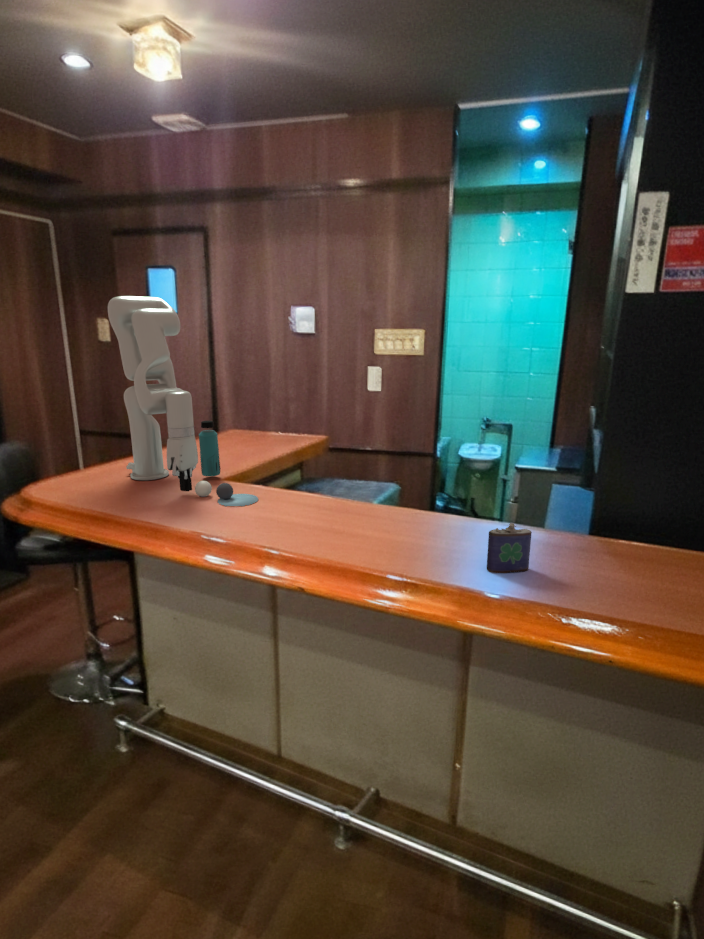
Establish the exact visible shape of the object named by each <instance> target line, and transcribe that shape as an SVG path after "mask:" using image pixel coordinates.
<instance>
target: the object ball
mask: <svg viewBox="0 0 704 939" xmlns="http://www.w3.org/2000/svg"><path fill="white" fill-rule="evenodd" d="M215 492H216V496H217V497H218V499H220V498H221V499H229V498H230V497H231V496H232V495H233V494H234V488H233V486H232V485H231V484H230V483H228V482H222V483H220V484H218V486H217V487H216V490H215Z"/></svg>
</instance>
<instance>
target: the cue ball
mask: <svg viewBox="0 0 704 939" xmlns="http://www.w3.org/2000/svg"><path fill="white" fill-rule="evenodd" d="M212 490H213V488H212V485H211V483H210V482H209V481H207V480H200V481H198V482H197V483H196V484H195V486H194V492H195V493H196V495H197V496H199V497H202V498H204V497H208V496H209V495H210V494H211V493H212Z"/></svg>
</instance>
